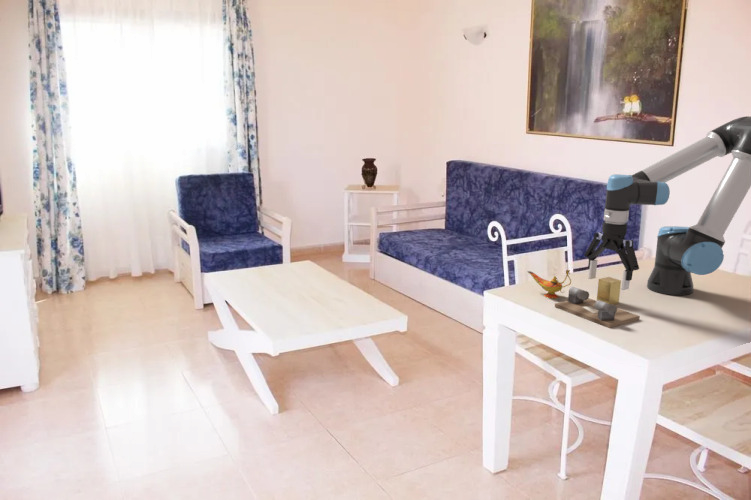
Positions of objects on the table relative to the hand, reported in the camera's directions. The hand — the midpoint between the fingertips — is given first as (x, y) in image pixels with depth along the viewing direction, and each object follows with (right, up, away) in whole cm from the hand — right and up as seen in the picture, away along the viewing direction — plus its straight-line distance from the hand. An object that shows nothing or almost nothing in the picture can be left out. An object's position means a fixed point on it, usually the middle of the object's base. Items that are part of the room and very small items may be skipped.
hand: (607, 283), depth 208 cm
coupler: (0, -6, +2) cm, 7 cm away
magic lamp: (-18, -5, +9) cm, 21 cm away
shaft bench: (-7, -9, -9) cm, 15 cm away
